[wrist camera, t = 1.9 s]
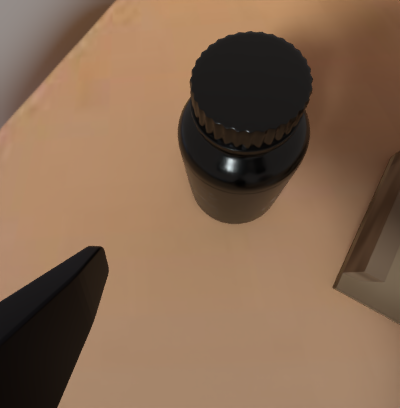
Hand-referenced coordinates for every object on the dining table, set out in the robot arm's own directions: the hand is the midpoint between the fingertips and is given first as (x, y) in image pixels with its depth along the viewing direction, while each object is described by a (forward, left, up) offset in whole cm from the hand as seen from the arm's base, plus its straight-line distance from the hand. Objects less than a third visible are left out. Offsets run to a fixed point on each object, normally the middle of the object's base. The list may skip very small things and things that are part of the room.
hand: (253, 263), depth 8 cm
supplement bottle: (+3, +6, -13) cm, 15 cm away
